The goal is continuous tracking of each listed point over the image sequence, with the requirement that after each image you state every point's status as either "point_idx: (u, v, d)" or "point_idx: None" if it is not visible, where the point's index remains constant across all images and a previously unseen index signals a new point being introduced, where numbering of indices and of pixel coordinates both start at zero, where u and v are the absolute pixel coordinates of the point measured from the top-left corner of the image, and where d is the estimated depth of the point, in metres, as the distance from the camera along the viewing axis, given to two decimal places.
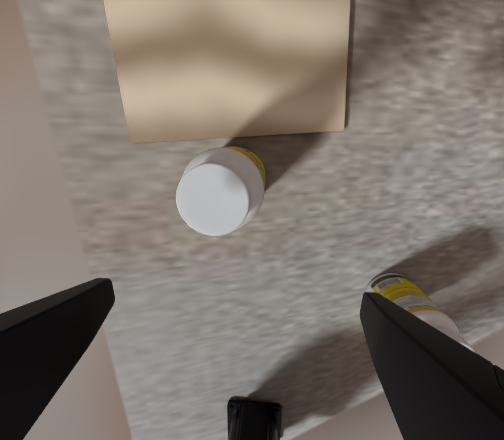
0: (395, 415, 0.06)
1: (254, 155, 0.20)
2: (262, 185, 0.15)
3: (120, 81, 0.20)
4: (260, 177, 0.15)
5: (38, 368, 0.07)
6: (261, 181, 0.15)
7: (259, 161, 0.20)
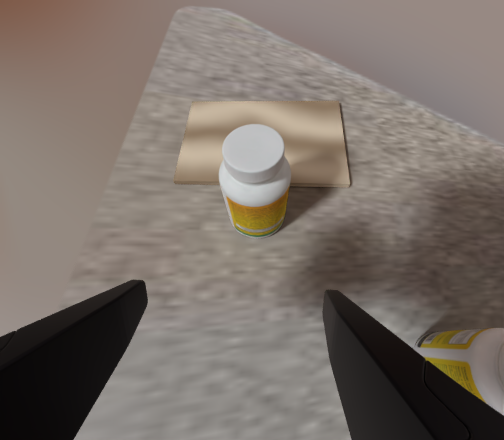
0: (344, 411, 0.06)
1: None
2: (290, 170, 0.18)
3: (183, 145, 0.28)
4: None
5: (83, 372, 0.06)
6: (289, 166, 0.18)
7: None
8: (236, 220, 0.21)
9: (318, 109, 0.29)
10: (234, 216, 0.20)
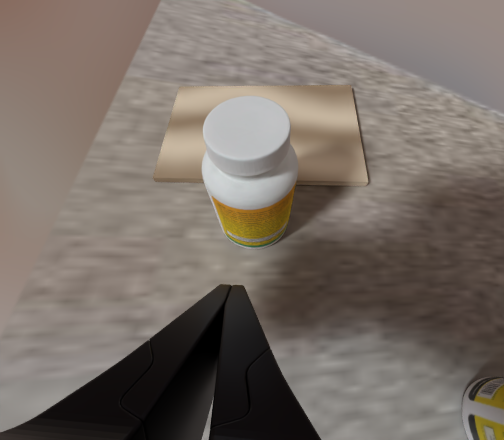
0: None
1: None
2: (297, 161, 0.13)
3: (166, 136, 0.23)
4: (295, 153, 0.14)
5: None
6: (296, 156, 0.14)
7: None
8: (227, 227, 0.16)
9: (326, 94, 0.25)
10: (224, 222, 0.16)
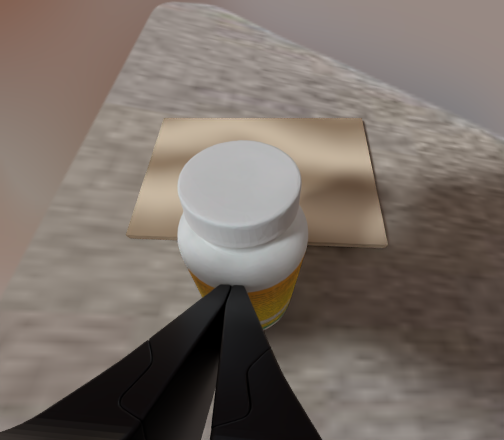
0: None
1: None
2: (306, 223, 0.10)
3: (145, 180, 0.20)
4: None
5: None
6: (305, 217, 0.10)
7: None
8: None
9: (333, 129, 0.21)
10: None
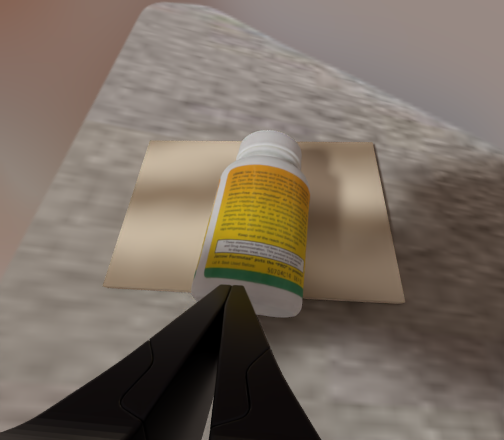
0: None
1: None
2: None
3: (126, 217, 0.17)
4: None
5: None
6: None
7: None
8: (223, 228, 0.11)
9: (340, 156, 0.19)
10: (223, 216, 0.11)
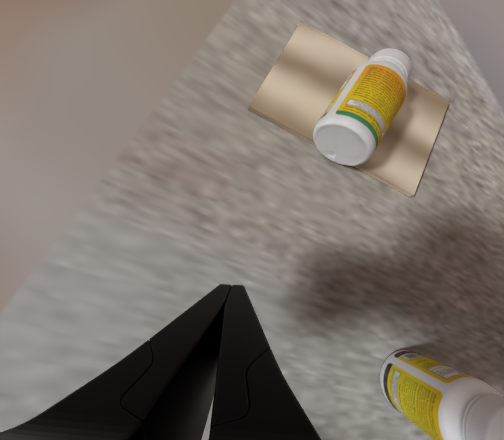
0: None
1: None
2: None
3: (272, 70, 0.25)
4: None
5: None
6: None
7: None
8: (354, 94, 0.19)
9: (424, 100, 0.26)
10: (356, 88, 0.20)
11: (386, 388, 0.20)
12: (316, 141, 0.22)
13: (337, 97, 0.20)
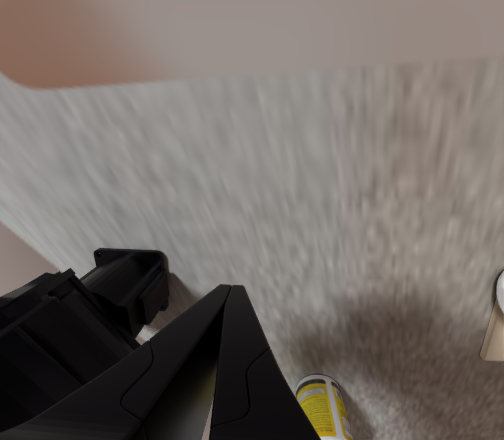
0: None
1: None
2: None
3: None
4: None
5: None
6: None
7: None
8: None
9: None
10: None
11: (306, 383, 0.26)
12: None
13: None
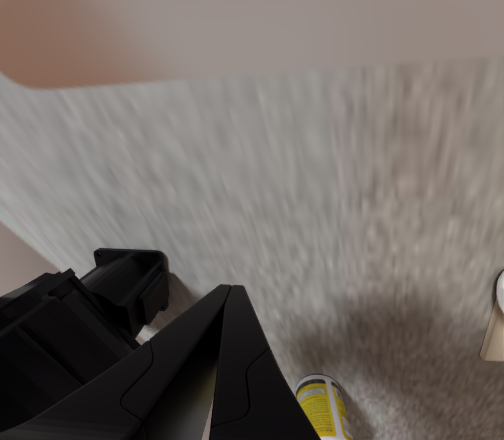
0: None
1: None
2: None
3: None
4: None
5: None
6: None
7: None
8: None
9: None
10: None
11: (306, 383, 0.26)
12: None
13: None
